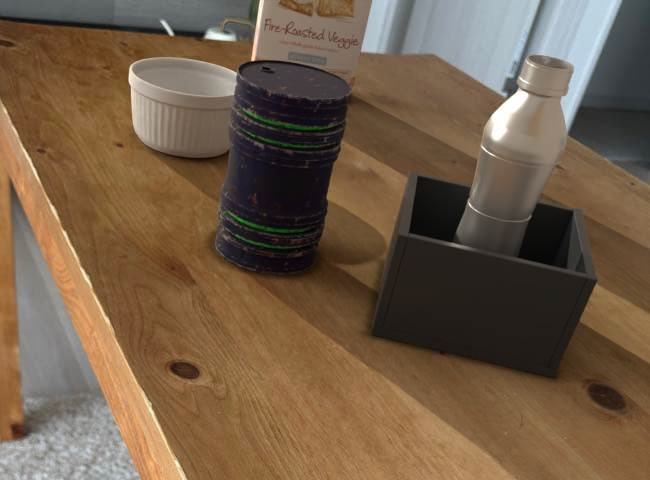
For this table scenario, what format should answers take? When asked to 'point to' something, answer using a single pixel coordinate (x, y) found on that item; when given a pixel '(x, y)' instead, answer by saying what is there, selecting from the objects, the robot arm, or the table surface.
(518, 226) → the silver metal bottle
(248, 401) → the table surface
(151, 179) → the table surface
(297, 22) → the cracker box
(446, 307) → the bin
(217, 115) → the ramekin
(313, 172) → the storage jar
